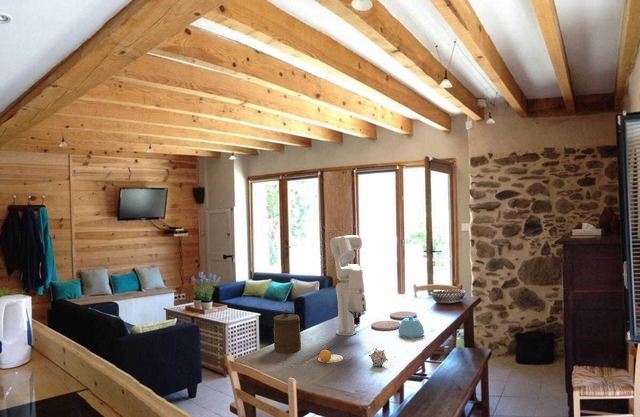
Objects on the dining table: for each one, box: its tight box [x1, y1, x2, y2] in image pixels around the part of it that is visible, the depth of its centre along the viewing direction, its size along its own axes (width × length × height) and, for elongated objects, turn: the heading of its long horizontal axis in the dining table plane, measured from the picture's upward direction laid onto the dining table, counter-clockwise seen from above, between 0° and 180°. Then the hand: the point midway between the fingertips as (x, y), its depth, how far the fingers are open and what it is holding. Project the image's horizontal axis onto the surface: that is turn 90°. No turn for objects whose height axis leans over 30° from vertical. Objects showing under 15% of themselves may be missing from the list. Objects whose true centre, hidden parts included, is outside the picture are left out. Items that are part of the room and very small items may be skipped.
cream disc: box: [317, 353, 344, 364], centre depth 251 cm, size 13×13×1 cm
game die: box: [368, 348, 389, 368], centre depth 238 cm, size 9×8×10 cm
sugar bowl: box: [398, 315, 425, 339], centre depth 289 cm, size 15×15×12 cm
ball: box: [318, 349, 332, 363], centre depth 246 cm, size 6×6×6 cm
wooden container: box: [273, 309, 302, 354], centre depth 270 cm, size 15×15×22 cm
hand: (357, 324), depth 266 cm, fingers closed
